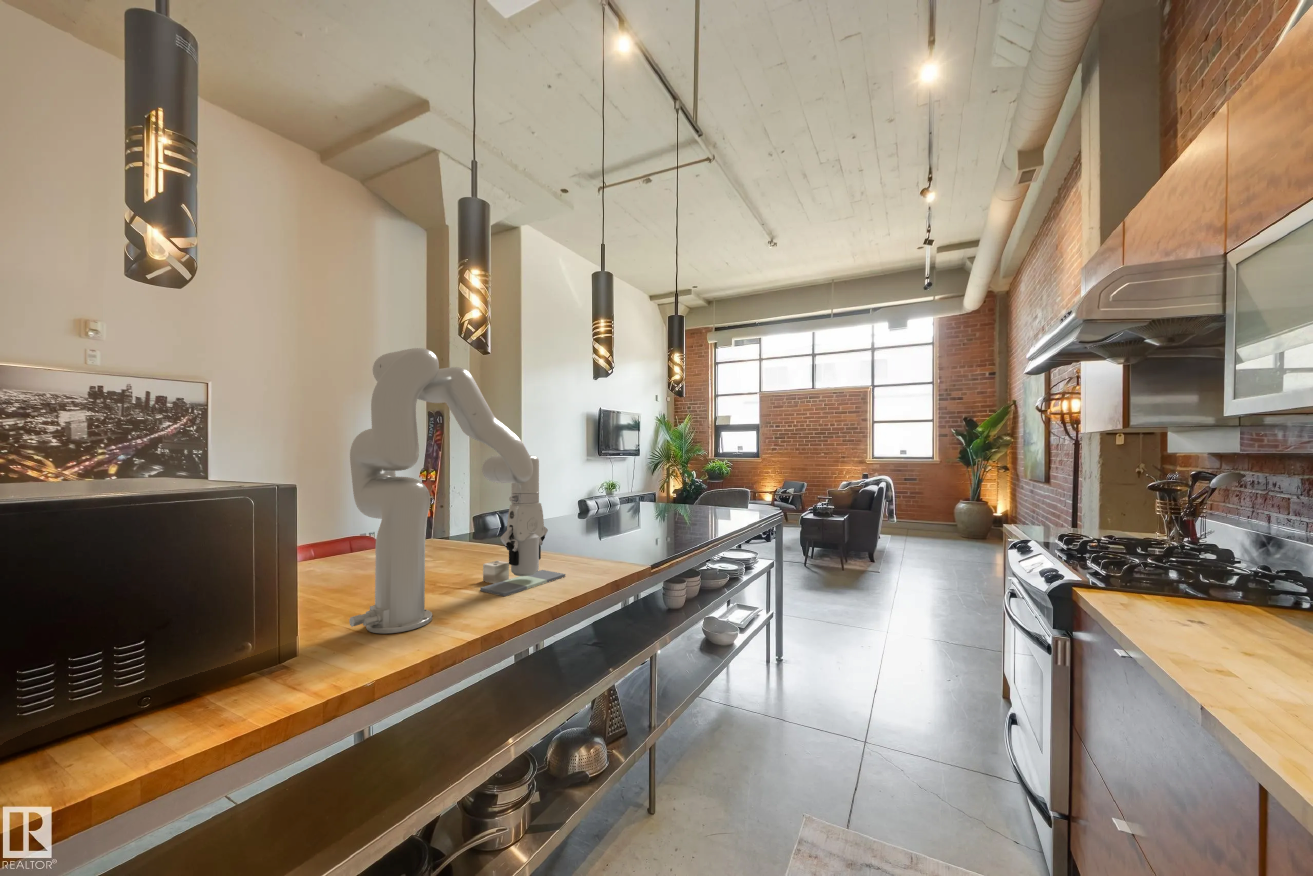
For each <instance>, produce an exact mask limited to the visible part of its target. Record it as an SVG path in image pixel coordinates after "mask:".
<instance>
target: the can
mask: <svg viewBox="0 0 1313 876" xmlns="http://www.w3.org/2000/svg"><path fill="white" fill-rule="evenodd" d="M529 534H530V535H529V536H528V537H527V538H526V539H525V541H523V542H519V546H518V548H517V550H516V551H518V552H519V564H518V565H517V566H514V565H510V568H511V569H510V572H511V573H512V574H513V575H514V576H515V577H519V576H530V575H533V574H535V573H536V572H537V571H540V560H539V536H538V535H536V534H535V532H531V533H529ZM513 539H515V538H514V537H513ZM514 543H515V542H513V545H514Z"/></svg>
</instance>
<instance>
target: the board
mask: <svg viewBox="0 0 1313 876" xmlns="http://www.w3.org/2000/svg"><path fill="white" fill-rule="evenodd" d="M564 576H565V577H566V573H562V572H556V571H551V570H545V569H541V570H540V569H539V570H538V571H537V572H536V573H535V574H533V575H530V576H515V577H513V578H509V580H505V581H502V582H498V583H495V584H493V583H491V584H489V585H485V586H482V587H480V589H479V590H480V592H484V593H489V594H492V595H496V596H502V597H507V596H510V595H513V594H516V593H519V592H523V591H526V590H529V589H532V588H535V587H538V586H540V584H541V585H544V584H547V583H546V582H548V583H550V582H549V581H551V582H553V581H552V580H554V581H557V580H560V579H562V577H563V578H565V577H564ZM559 578H560V579H559ZM556 579H557V580H556ZM543 583H544V584H543ZM537 585H538V586H537ZM534 586H535V587H534ZM531 587H532V588H531ZM528 588H529V589H528Z"/></svg>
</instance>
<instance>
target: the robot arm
mask: <svg viewBox="0 0 1313 876" xmlns="http://www.w3.org/2000/svg"><path fill="white" fill-rule="evenodd" d="M439 363H440V362H439V359H438V356H437V355H436V354H435V353H434V352H433V351H432V350H430V349H428V348H423V347H422V348H421V347H414V348H408V349H401V350H399V351H398V350H397V351H393V352H387V353H385V354H382V355H380V356H379V357H377V359H376V360H375V361H374V362H373V366H372V375H373V377H374V379H375V381H376V383H375V386H374V388H373V391H372V395H371V400H370V402H371V403H370V410H371V411H370V414H371V415H370V417H371V419H370V420H371V428H368V429H365V430H363V431H361V432H359V434H357V435H356V437H355V438H354V439H353V441H352V443H351V446H350V450H349V462H350V473H351V483H352V492H353V498H354V503H355V505H356V507H357V509H358V511H359V512H361V513H362V514H363V515H364V516H366V517H369V518H372V519H380V520H381V521H380V525H379V527H378V530H377V534H376V538H375V570H374V571H375V573H374V574H375V579H374V580H375V581H374V582H375V583H374V586H375V587H374V605H373V604H372V605H369V610H367V611H366V612H365V613H362V614H358V615H353V616H350V618H349V619H348V620H349V626H350V627H351V628H353V627H356V626H359V625H363V626H364V627H366V629H365V630H367V631H368V632H370V633H374V634H383V635H384V634H387V635H388V634H397V633H402V632H408V631H412V630H416V629H418V628H421V627H424V626H426V625H427V624H429V623H430V622H431V621H432V620H433V612H432V611H430V610H428V609H426V608H425V606H426V605H425V598H426V597H425V593H426V590H425V589H426V582H425V581H426V578H425V577H426V532H427V522H428V521H427V520H428V515H429V512H430V506H431V494H430V491H429V489H428V488H427V485H425V483H423V482H422V481H420V480H418V479H416V478H415V477H414V478H413V477H411V476H410V477H409V476H397V475H396V472H399V471H407V470H408V469H411V468H412V467H414V466H415V465H416V464H417V462H418V460H419V457H420V445H419V434H418V423H417V402H418V400H419V401H423V402H426V403H433V404H443V403H445V404H446V405H447V407H448V408H449V410H450V413H451V414H452V415H453V417H454V419H455V420H456V423H457V424H458V425H459V427H460V430H461V431H462V432H463V433H464V435H466V436H469V438H472V440H475V441H477V442H480V443H482V444H484V445H486V446H488V447H489V448H491V449H492V450H494V451H495V452H496V453H497V454H498V455H497V454H494V455H491V456H490V457H488V458H486V459H485V460H484V462H483V464H482V467H481V472H482V475H483V477H484V479H486V480H487V481H489V482H491V483H497V484H498V483H499V484H500V483H501V484H511V496H509V499H508V500H509V502H511V504H510V505H509V508H508V514H507V523H506V524H507V525H506V531H504V533H503V534H502V535H501V536H500V539H499V540H500V541H501V543H502V544H503V546H504V547H505V548H506V550H507V551H508V563H509V566H511V565H514V566H517V565H518V564H519V552H518V551H516V550H517V548H518V546H519V542H523V541H525V539H526V538H527V537H528V536H529V535H530V534H529V533H531V532H535V534H536V535H538V536H539V561H540V560H541V557H542V553H541V552H542V549H541V548H542V547H541V546H542V545H543V543H544V540H545V538H546V535H547V533H548V531H549V530H548V528H547V527H546V526H545V523H544V522H545V520H544V512H543V506H542V503H541V502H540V459H539V457H537V456H536V455H530V454H529V451H528V450H527V448H526V446H525V444H524V442H523V441H522V440H521V439H520V438H519V436H518V435H517V434H516V433H515V432H513V431H512V430H511V429H510V428H509V427H508V426H506V425H505V424H504V423H503V422H502V421H500V420H499V419H498V418H496V416H495V414H494V413H493V411H492V409H491V407H490V406H489V404H488V402H487V401H486V399H485V397H484V395H483V393H482V391H481V389H480V388H479V386H478V384H477V382H476V380H475V378H474V377H473V375H472V374H471V372H470V371H468V370H467V369H466V368H463V367H458V366H456V367H455V366H453V367H452V366H451V367H445V368H440V364H439ZM513 537H514V538H515V539H513ZM513 542H515V543H514V545H513Z"/></svg>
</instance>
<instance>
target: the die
mask: <svg viewBox="0 0 1313 876" xmlns="http://www.w3.org/2000/svg"><path fill="white" fill-rule="evenodd" d="M509 579H510V565H509V561H508V562H507V561H501V560H495V561H491V562H486V563H483V564H482V582H484V581H485V582H484V583H488V582H489V583H488V584H495V583H498V582H502V581H505V580H509Z"/></svg>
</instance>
